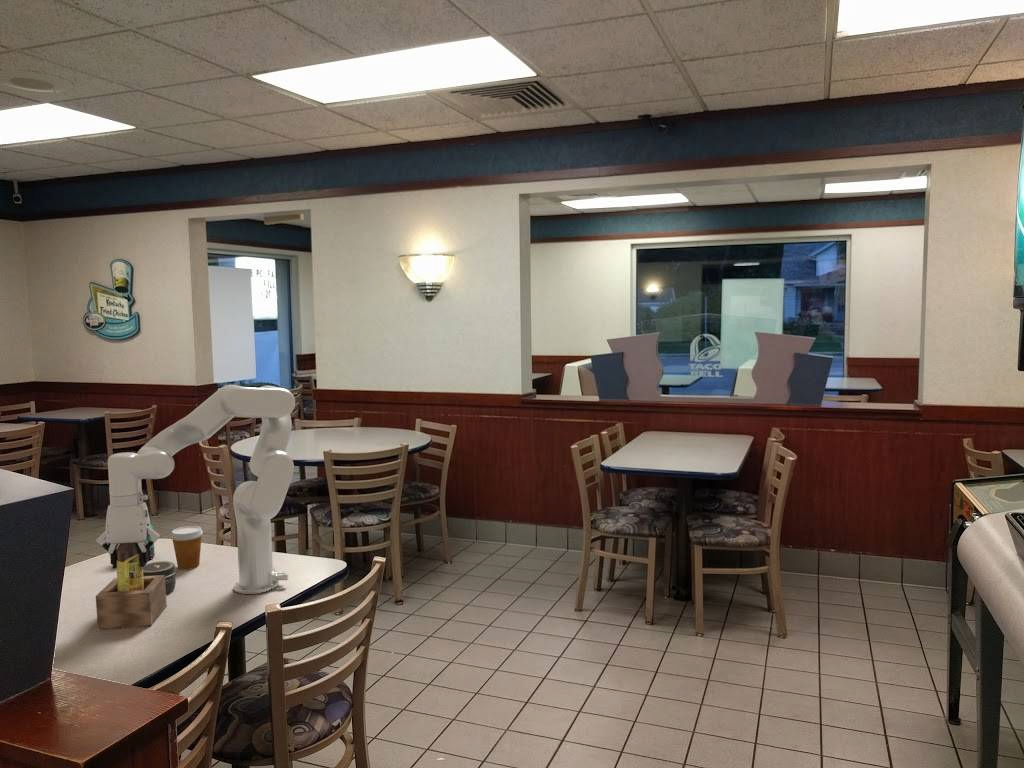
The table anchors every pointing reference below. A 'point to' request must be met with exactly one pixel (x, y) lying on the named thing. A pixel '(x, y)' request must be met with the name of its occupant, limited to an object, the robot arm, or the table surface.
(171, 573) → the jar
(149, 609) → the walnut box
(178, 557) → the disposable coffee cup
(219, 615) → the table surface
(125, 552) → the sauce bottle
